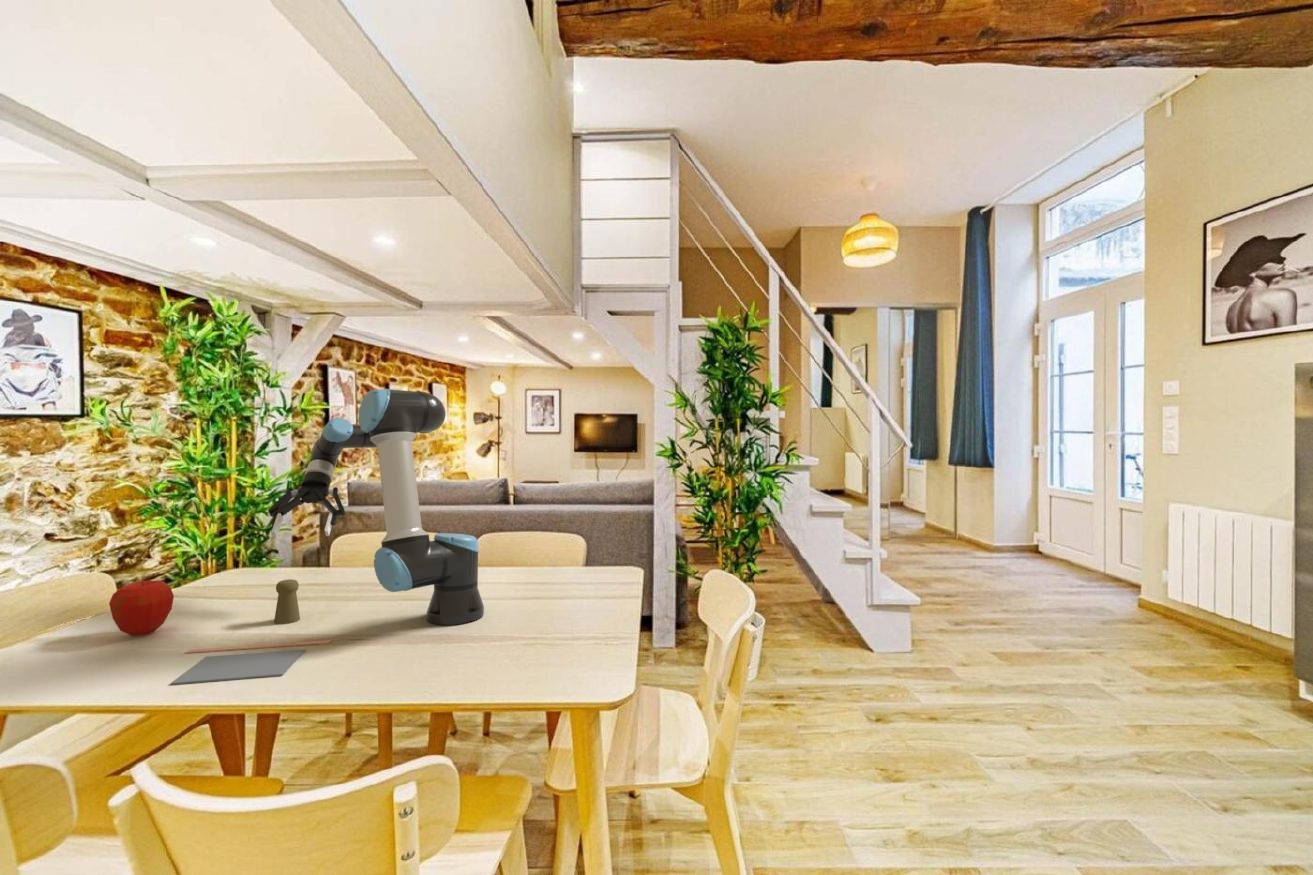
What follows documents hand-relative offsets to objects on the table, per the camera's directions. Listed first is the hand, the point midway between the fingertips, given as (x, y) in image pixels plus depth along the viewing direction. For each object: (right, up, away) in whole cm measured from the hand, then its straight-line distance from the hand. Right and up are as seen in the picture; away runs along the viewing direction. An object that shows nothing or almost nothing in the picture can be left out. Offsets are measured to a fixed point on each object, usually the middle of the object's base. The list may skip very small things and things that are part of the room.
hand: (300, 534), depth 166 cm
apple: (-26, -22, -22) cm, 41 cm away
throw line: (+9, -22, -30) cm, 38 cm away
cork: (+3, -22, -10) cm, 25 cm away
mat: (+13, -22, -41) cm, 48 cm away
